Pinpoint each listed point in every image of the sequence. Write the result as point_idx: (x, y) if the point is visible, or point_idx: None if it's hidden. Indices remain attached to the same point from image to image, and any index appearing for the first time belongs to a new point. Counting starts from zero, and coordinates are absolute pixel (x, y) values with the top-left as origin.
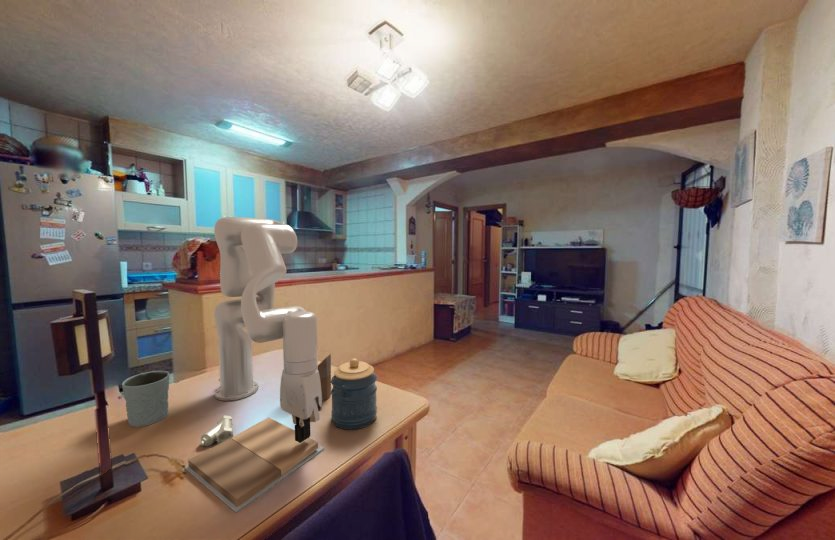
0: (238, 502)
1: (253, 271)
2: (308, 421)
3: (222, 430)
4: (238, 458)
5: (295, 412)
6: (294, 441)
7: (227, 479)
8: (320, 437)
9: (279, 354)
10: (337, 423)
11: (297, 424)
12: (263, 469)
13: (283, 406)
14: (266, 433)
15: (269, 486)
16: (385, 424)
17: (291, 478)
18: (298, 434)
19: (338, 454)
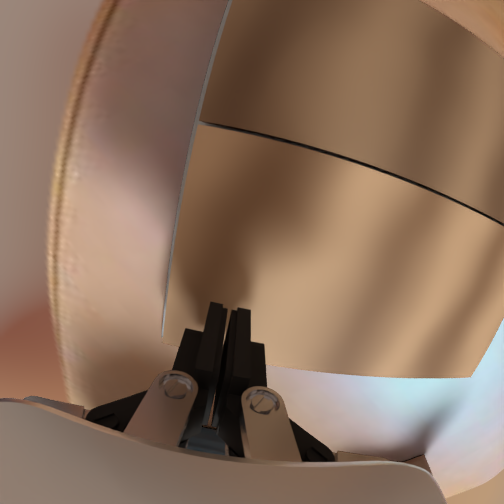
0: None
1: None
2: (94, 408)
3: None
4: (458, 137)
5: (129, 483)
6: (281, 318)
7: (393, 12)
8: None
9: (490, 476)
10: (206, 437)
11: (235, 389)
12: (289, 92)
13: (391, 502)
14: (444, 313)
15: (210, 63)
16: None
17: (161, 145)
18: (209, 331)
19: (98, 322)
